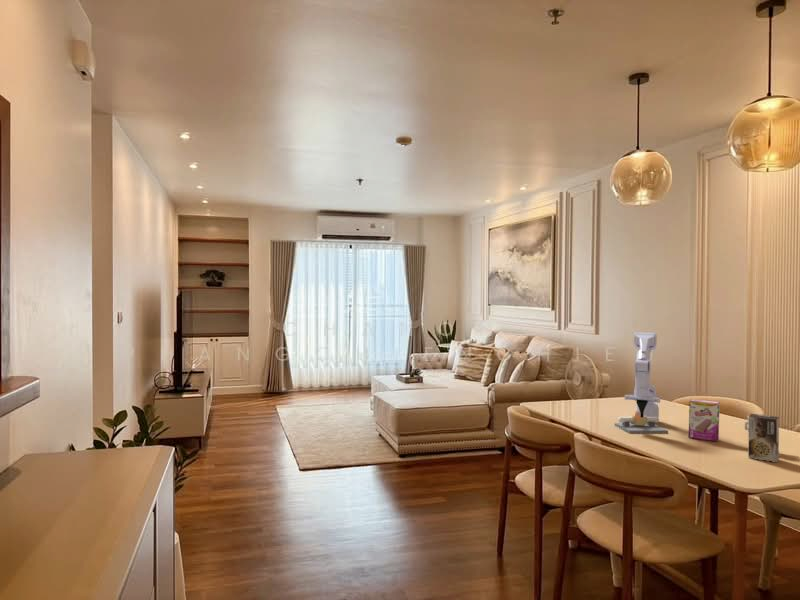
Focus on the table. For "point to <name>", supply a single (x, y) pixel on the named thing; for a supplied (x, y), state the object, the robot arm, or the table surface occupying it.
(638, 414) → the valve lever
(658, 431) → the valve board
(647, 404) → the robot arm
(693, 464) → the table surface
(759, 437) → the coffee box
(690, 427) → the candy bar box
